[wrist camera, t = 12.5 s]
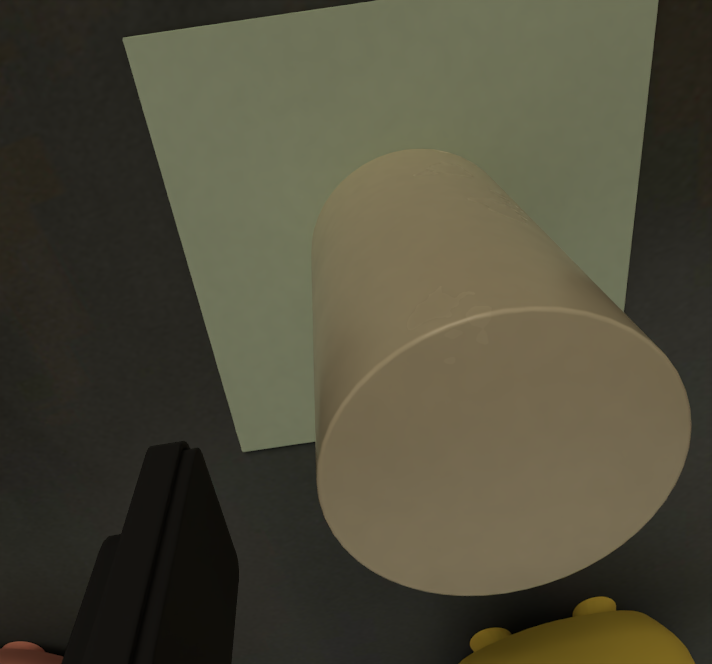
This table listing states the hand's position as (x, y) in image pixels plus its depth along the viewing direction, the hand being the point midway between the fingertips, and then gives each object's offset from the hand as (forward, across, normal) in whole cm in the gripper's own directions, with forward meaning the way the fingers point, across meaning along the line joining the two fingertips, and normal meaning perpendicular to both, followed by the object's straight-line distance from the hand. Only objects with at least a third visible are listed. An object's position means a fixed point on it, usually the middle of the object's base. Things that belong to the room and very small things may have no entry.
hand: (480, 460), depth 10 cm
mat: (+10, -1, 0) cm, 10 cm away
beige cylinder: (+10, 0, 0) cm, 10 cm away
